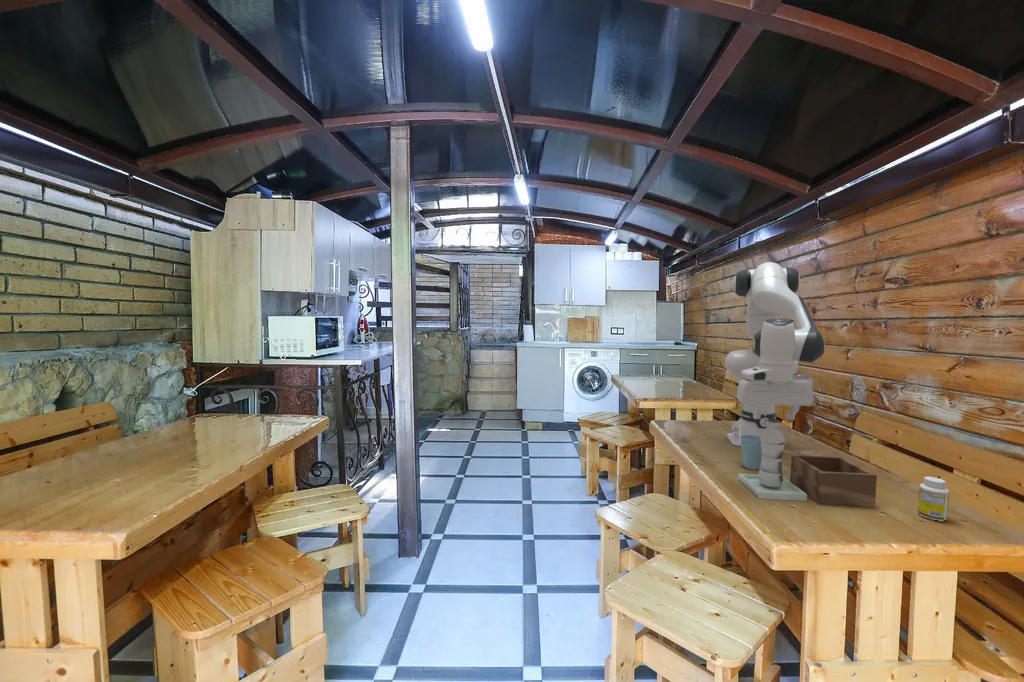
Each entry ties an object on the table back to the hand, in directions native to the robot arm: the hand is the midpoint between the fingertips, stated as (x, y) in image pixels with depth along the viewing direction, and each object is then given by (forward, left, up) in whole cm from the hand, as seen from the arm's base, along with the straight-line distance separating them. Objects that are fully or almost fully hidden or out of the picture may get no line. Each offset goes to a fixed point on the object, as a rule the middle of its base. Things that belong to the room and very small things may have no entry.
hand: (773, 419), depth 127 cm
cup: (-20, +3, -22) cm, 30 cm away
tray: (0, 0, -22) cm, 22 cm away
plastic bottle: (0, 0, -21) cm, 21 cm away
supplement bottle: (+13, +34, -22) cm, 42 cm away
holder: (+1, +16, -22) cm, 27 cm away
